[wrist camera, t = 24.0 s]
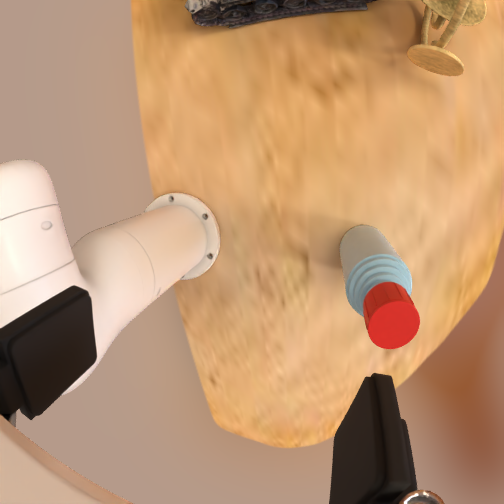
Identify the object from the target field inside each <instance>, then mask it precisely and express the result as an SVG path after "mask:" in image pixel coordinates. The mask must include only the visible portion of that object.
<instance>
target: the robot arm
mask: <svg viewBox="0 0 504 504" xmlns="http://www.w3.org/2000/svg"><path fill="white" fill-rule="evenodd" d="M173 197H174V200H173ZM206 214H207V215H208V217H206ZM219 249H220V231H219V226H218V224H217V221H216V218H215V217H214V215H213V213H212V212H211V210H210V209H209V208H208V207H207V206H206V205H205V204H204V203H203V202H202V201H200V200H199V199H198V198H196V197H194V196H192V195H189V194H185V193H170V194H166V195H162V196H160V197H158V198H156V199H155V200H154V201H153V202H151V203H150V204H149V205H148V207H147V208H146V210H145V211H144V213H143V214H140V215H137V216H134V217H131V218H128V219H125V220H122V221H119V222H117V223H113V224H111V225H108V226H105V227H103V228H99V229H97V230H94V231H92V232H90V233H88V234H86V235H85V236H83V237H82V238H81V239H80V240H79V241H78V242H77V243H76V244H75V245H74V246H73V247H72V248H71V246H70V243H69V240H68V236H67V233H66V229H65V226H64V222H63V219H62V215H61V211H60V207H59V204H58V200H57V196H56V193H55V189H54V186H53V183H52V180H51V178H50V176H49V174H48V172H47V171H46V169H45V168H44V167H43V166H42V165H41V164H39V163H37V162H35V161H32V160H26V159H25V160H22V159H21V160H13V161H8V162H5V163H1V164H0V504H133V503H131V502H129V501H127V500H125V499H123V498H121V497H119V496H117V495H115V494H113V493H111V492H110V491H108V490H106V489H104V488H102V487H100V486H99V485H97V484H95V483H93V482H92V481H90V480H88V479H86V478H85V477H83V476H82V475H80V474H78V473H77V472H75V471H74V470H72V469H71V468H69V467H67V466H66V465H64V464H63V463H61V462H60V461H58V460H57V459H56V458H54V457H53V456H51V455H50V454H49V453H47V452H46V451H44V450H43V449H42V448H40V447H39V446H38V445H36V444H35V443H34V442H32V441H31V440H30V439H29V438H27V437H26V436H25V435H24V434H22V433H21V432H20V431H19V430H18V429H16V428H15V425H16V411H17V410H18V409H19V408H20V411H21V413H22V414H24V415H25V416H26V417H28V418H29V419H30V420H32V419H33V418H34V417H35V416H38V415H41V414H42V413H43V412H44V411H45V410H46V409H47V408H48V407H49V406H50V405H51V404H52V403H53V402H54V401H55V400H56V399H58V397H60V396H62V395H64V394H66V393H68V392H70V391H72V390H73V389H75V388H76V387H78V386H79V385H80V384H81V383H82V382H83V381H84V380H85V379H86V378H87V377H88V376H89V375H90V374H91V373H92V372H93V370H94V369H95V368H96V366H97V365H98V363H99V362H100V360H101V359H102V357H103V356H104V354H105V352H106V351H107V349H108V348H109V346H110V345H111V343H112V342H113V340H114V339H115V338H116V336H117V335H118V334H119V333H120V331H122V330H123V328H124V327H125V326H126V325H127V324H128V323H129V322H131V321H132V320H133V319H134V318H135V317H136V316H137V315H138V314H139V313H141V312H142V311H143V310H144V309H145V308H146V307H147V306H149V305H150V304H151V303H152V302H153V301H154V300H156V299H157V298H158V297H159V296H160V295H161V294H163V293H164V292H165V291H166V290H167V289H168V288H169V287H171V286H172V285H173V284H174V283H176V282H177V281H178V280H189V279H193V278H196V277H198V276H200V275H202V274H203V273H204V272H206V271H207V270H208V269H209V268H210V267H211V266H212V265H213V263H214V261H215V260H216V258H217V255H218V253H219ZM211 254H212V255H213V256H211ZM329 504H444V502H443V500H442V499H441V498H440V497H439V496H438V495H437V494H435V493H433V492H431V491H426V490H417V482H416V475H415V469H414V462H413V457H412V450H411V445H410V439H409V434H408V429H407V424H406V422H405V420H404V419H401V417H400V413H399V407H398V402H397V397H396V393H395V388H394V384H393V379H392V377H391V376H389V375H383V374H377V373H373V374H372V375H371V377H365V379H364V381H363V383H362V385H361V387H360V389H359V391H358V393H357V395H356V397H355V399H354V400H353V402H352V404H351V406H350V408H349V410H348V412H347V414H346V415H345V417H344V419H343V421H342V423H341V424H340V426H339V428H338V430H337V431H336V434H335V437H334V447H333V464H332V477H331V490H330V501H329Z"/></svg>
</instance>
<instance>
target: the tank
mask: <svg viewBox="0 0 504 504" xmlns="http://www.w3.org/2000/svg"><path fill="white" fill-rule="evenodd" d="M251 1H253V2H252V3H251V4H250V5H246V6H241V5H239V4H241V3H247V2H251ZM373 1H376V0H187V2H186V4H185V7H186V9H187V10H188V11H189V12H190V13H192V19H193V21H194V22H195V24H198V25H201V26H214V25H219V26H228V25H229V28H234V27H238V26H242V25H247V24H251V23H256V22H260V21H265V20H272V19H278V18H283V17H291V16H297V15H305V14H314V13H321V12H333V11H345V10H367V9H368V8H367V5H366V3H369V2H373ZM198 22H199V23H198Z"/></svg>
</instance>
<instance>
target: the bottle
mask: <svg viewBox="0 0 504 504" xmlns="http://www.w3.org/2000/svg"><path fill="white" fill-rule="evenodd" d="M340 257H341V263H342V269H343V276H344V282H345V289H346V295H347V299H348V301H349V303H350V305H351V306H352V308H353V309H354V310H355V311H357V313H359V314H360V315H362V316H363V317H364V314H363V302H364V299H365V296H366V295H367V293H368V292H369V291H370V290H371V289H372V288H373V287H374V286H376V285H378V284H380V283H383V282H395V283H397V284H399V285H401V286H402V287H403V288H405V289H406V291H407V293H408V294H409V296H410V295H411V290H412V278H411V274H410V271H409V269H408V268H407V266H406V265H405V263H404V262H403V260H402V259H401V258H400V256H399V255H398V254H397V252H396V251H395V250H394V249H393V247H392V246H391V245H390V243H389V242H388V241H387V239H386V238H385V237H384V236H383V234H382V233H381V232H380V231H379V230H378V229H376V228H374V227H372V226H368V225H360V226H356V227H354V228H352V229H350V230H349V231H348V232H347V233H346V234H345V235H344V236H343V238H342V240H341V243H340Z"/></svg>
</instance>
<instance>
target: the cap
mask: <svg viewBox="0 0 504 504" xmlns="http://www.w3.org/2000/svg"><path fill="white" fill-rule="evenodd" d="M363 314H364V319H365V324H366V328H367V330H368V334H369V337H370V339H371V340H372V342H373V343H374V344H376V345H377V346H379V347H381V348H385V349H395V348H399V347H402V346H404V345H405V344H407V343H408V342H410V341H411V340H412V339H413V338H414V336H415V335H416V333H417V331H418V329H419V325H420V317H419V314H418V311H417V310H416V308H415V306H414V303H413V301H412V300H411V298H410V296H409V294H408V293H407V291H406V289H405V288H403V287H402V286H401V285H399V284H397V283H395V282H383V283H380V284H378V285H376V286H374V287H373V288H372V289H371V290H370V291H369V292H368V293H367V295H366V296H365V299H364V302H363Z"/></svg>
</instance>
